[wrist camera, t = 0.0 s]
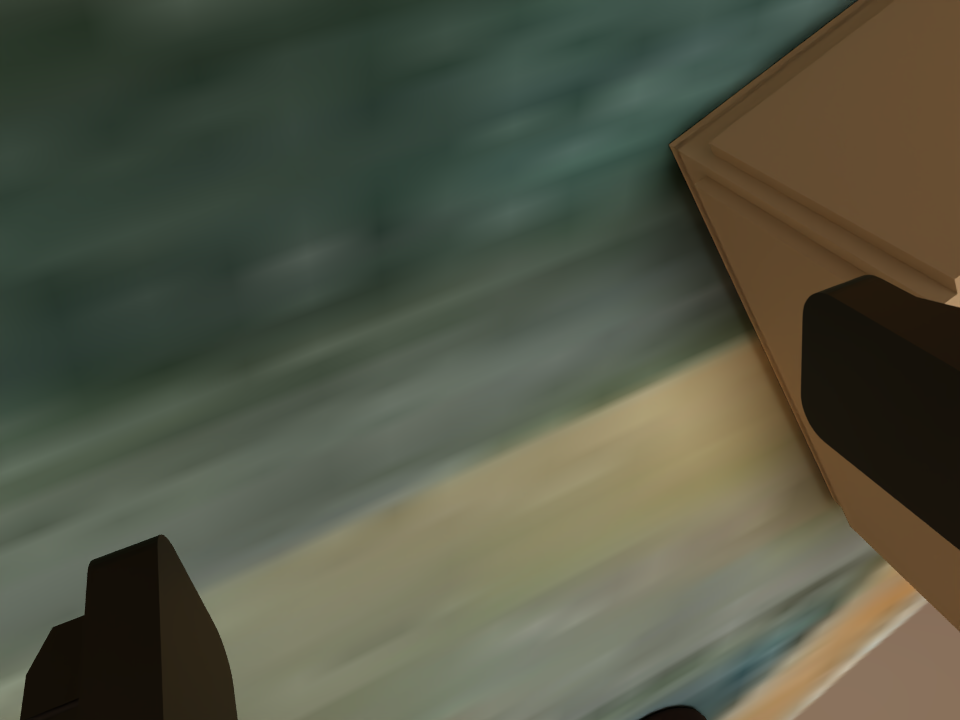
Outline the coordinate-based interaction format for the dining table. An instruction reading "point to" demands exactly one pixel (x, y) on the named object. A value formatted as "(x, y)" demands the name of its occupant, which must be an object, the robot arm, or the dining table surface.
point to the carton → (844, 214)
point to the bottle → (677, 714)
